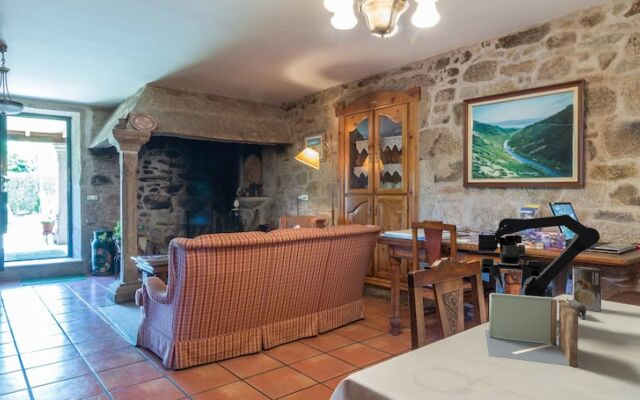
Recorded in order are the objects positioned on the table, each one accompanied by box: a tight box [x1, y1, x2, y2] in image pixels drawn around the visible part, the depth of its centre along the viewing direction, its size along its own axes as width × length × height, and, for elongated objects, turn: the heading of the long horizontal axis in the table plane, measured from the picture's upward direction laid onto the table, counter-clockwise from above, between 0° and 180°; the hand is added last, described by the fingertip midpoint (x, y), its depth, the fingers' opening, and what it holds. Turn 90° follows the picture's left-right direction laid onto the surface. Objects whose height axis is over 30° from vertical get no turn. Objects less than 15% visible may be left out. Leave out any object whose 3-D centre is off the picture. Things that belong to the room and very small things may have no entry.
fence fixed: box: [557, 299, 579, 368], centre depth 112 cm, size 16×2×14 cm, turn 161°
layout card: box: [484, 329, 585, 369], centre depth 120 cm, size 23×22×1 cm
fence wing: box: [488, 292, 558, 344], centre depth 124 cm, size 2×18×14 cm, turn 70°
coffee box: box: [572, 266, 602, 313], centre depth 162 cm, size 9×6×16 cm
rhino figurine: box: [566, 298, 587, 321], centre depth 153 cm, size 4×14×6 cm, turn 167°
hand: (511, 287), depth 137 cm, fingers open, 6 cm apart
